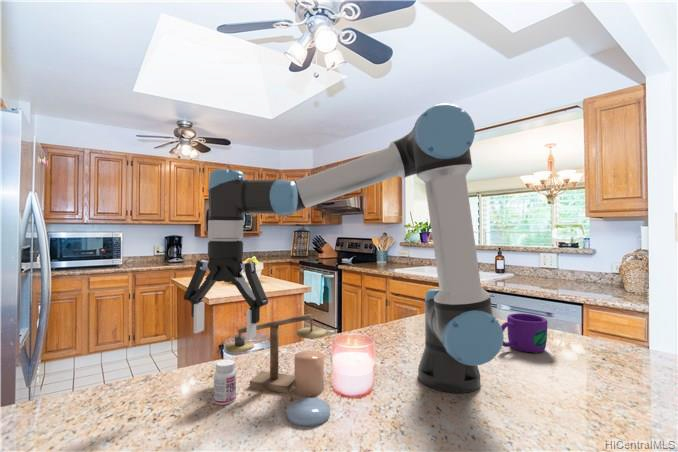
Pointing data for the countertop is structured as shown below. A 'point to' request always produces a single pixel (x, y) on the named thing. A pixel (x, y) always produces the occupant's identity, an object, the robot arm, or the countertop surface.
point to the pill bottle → (225, 382)
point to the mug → (526, 332)
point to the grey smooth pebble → (308, 412)
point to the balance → (274, 353)
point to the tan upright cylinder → (309, 373)
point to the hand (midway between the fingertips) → (224, 334)
